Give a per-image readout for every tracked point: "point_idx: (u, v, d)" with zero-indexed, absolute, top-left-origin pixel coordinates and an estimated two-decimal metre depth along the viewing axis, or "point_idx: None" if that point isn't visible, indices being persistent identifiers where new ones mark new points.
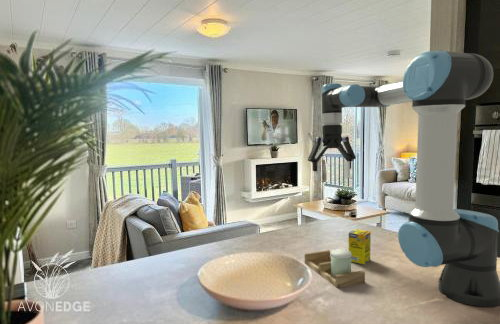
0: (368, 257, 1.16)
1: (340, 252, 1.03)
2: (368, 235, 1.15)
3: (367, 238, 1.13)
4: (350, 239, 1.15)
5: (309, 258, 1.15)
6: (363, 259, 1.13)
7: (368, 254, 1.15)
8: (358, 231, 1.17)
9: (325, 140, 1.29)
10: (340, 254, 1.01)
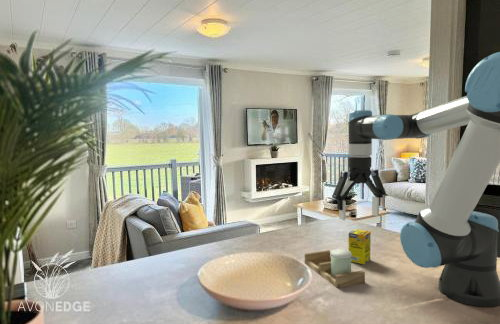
0: (368, 257, 1.16)
1: (340, 252, 1.03)
2: (368, 235, 1.15)
3: (367, 238, 1.13)
4: (350, 239, 1.15)
5: (309, 258, 1.15)
6: (363, 259, 1.13)
7: (368, 254, 1.15)
8: (358, 231, 1.17)
9: (352, 175, 1.12)
10: (340, 254, 1.01)
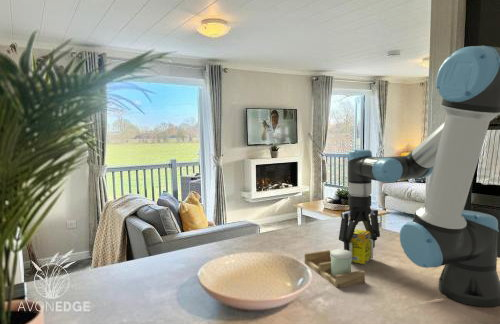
0: (368, 257, 1.16)
1: (340, 252, 1.03)
2: (368, 235, 1.15)
3: (367, 238, 1.13)
4: None
5: (309, 258, 1.15)
6: (363, 259, 1.13)
7: (368, 254, 1.15)
8: (358, 231, 1.17)
9: (353, 214, 1.13)
10: (340, 254, 1.01)
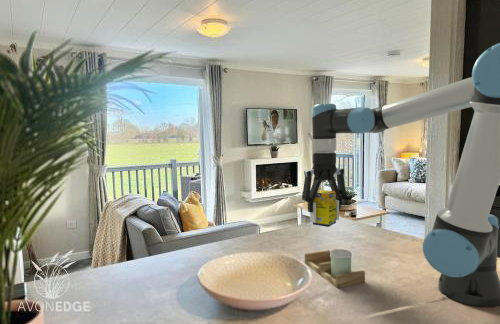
0: (333, 218, 1.10)
1: (340, 252, 1.03)
2: (333, 194, 1.09)
3: (331, 197, 1.08)
4: (314, 199, 1.10)
5: (309, 258, 1.15)
6: (327, 219, 1.07)
7: (333, 215, 1.10)
8: (322, 191, 1.11)
9: (316, 172, 1.08)
10: (340, 254, 1.01)
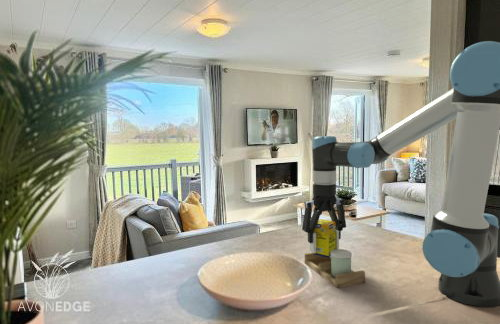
0: (333, 248, 1.11)
1: (340, 252, 1.03)
2: (333, 225, 1.10)
3: (331, 228, 1.09)
4: None
5: (309, 258, 1.15)
6: (327, 250, 1.08)
7: (333, 245, 1.11)
8: (322, 221, 1.12)
9: (316, 203, 1.08)
10: (340, 254, 1.01)
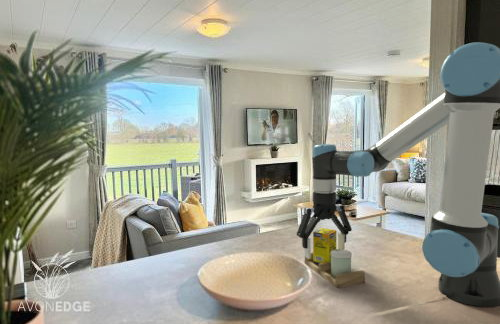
0: None
1: (340, 252, 1.03)
2: (333, 234, 1.10)
3: (331, 237, 1.09)
4: (315, 238, 1.11)
5: None
6: (327, 259, 1.08)
7: None
8: (323, 230, 1.12)
9: (316, 211, 1.09)
10: (340, 254, 1.01)
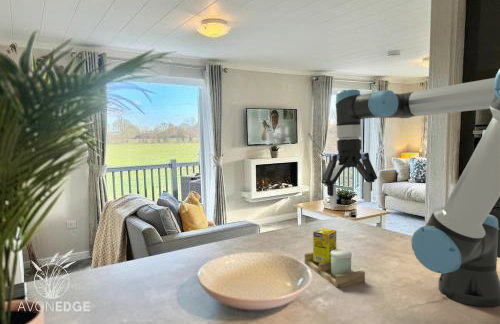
0: None
1: (340, 252, 1.03)
2: (333, 234, 1.10)
3: (331, 237, 1.09)
4: (315, 238, 1.11)
5: (309, 258, 1.15)
6: (327, 259, 1.08)
7: None
8: (323, 230, 1.12)
9: (342, 158, 1.07)
10: (340, 254, 1.01)
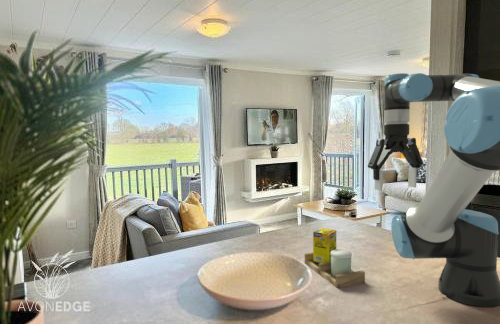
0: None
1: (340, 252, 1.03)
2: (333, 234, 1.10)
3: (331, 237, 1.09)
4: (315, 238, 1.11)
5: (309, 258, 1.15)
6: (327, 259, 1.08)
7: None
8: (323, 230, 1.12)
9: (389, 142, 1.06)
10: (340, 254, 1.01)
